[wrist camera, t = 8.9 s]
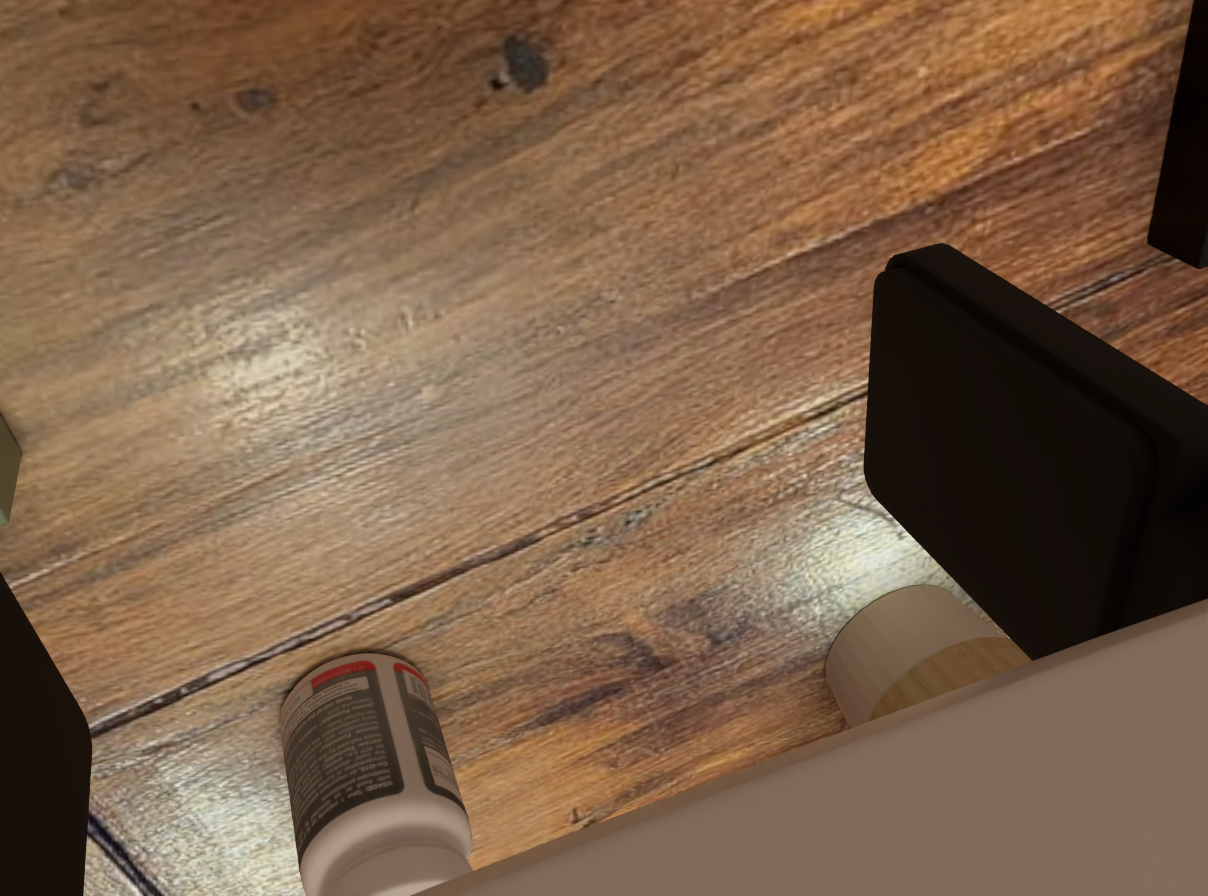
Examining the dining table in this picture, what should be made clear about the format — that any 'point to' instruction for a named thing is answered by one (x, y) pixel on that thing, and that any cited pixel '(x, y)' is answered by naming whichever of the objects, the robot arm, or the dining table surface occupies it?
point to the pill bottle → (371, 781)
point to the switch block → (1187, 158)
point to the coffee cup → (912, 653)
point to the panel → (7, 471)
